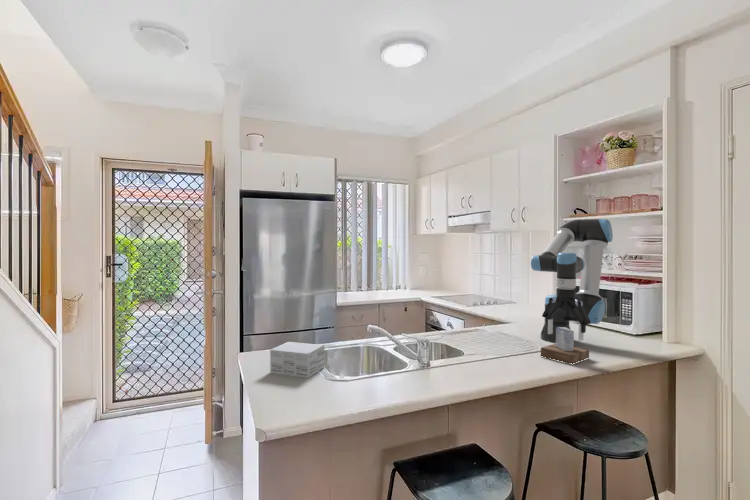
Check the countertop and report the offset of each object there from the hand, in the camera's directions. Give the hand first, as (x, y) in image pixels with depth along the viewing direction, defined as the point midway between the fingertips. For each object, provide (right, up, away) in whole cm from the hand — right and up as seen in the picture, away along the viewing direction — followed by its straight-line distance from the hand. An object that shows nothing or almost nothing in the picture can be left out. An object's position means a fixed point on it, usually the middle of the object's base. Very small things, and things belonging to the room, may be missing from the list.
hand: (565, 336), depth 172 cm
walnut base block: (0, -9, 0) cm, 9 cm away
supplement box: (-113, -10, -17) cm, 115 cm away
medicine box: (0, -5, 0) cm, 5 cm away
